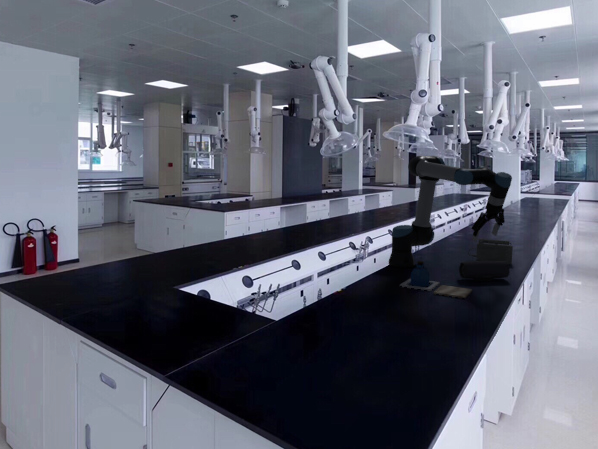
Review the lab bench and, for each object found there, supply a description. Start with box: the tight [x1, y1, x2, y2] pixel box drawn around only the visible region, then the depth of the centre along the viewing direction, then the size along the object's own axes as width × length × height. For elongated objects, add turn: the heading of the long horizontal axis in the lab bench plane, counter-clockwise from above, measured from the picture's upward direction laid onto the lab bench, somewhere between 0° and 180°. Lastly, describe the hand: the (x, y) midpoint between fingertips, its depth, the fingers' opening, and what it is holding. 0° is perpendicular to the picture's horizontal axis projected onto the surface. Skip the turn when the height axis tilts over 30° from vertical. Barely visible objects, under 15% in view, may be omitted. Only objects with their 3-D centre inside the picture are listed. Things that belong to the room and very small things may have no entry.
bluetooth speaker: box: [458, 260, 511, 282], centre depth 226 cm, size 23×9×10 cm, turn 92°
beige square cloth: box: [432, 284, 473, 299], centre depth 204 cm, size 14×14×1 cm
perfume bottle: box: [410, 260, 430, 287], centre depth 216 cm, size 6×6×12 cm
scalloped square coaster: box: [399, 277, 441, 292], centre depth 217 cm, size 15×15×1 cm
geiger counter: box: [467, 237, 514, 265], centre depth 267 cm, size 14×6×25 cm
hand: (484, 237), depth 229 cm, fingers open, 13 cm apart
